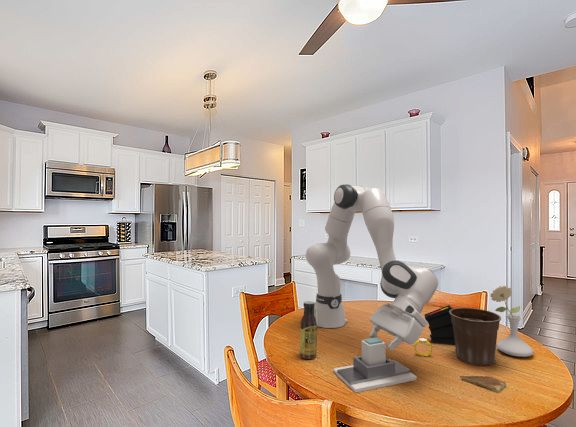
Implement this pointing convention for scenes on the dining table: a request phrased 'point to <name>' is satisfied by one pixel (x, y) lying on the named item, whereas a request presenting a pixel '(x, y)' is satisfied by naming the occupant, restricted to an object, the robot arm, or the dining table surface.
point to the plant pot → (475, 335)
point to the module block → (373, 351)
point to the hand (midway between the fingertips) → (379, 343)
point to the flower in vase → (511, 326)
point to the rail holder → (373, 374)
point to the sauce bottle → (308, 332)
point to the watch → (423, 342)
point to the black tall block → (441, 326)
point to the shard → (485, 382)
